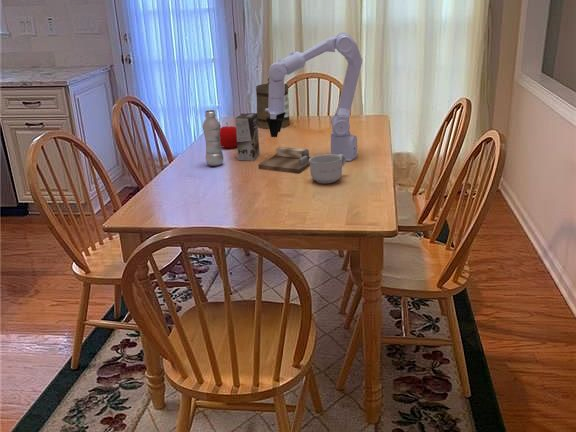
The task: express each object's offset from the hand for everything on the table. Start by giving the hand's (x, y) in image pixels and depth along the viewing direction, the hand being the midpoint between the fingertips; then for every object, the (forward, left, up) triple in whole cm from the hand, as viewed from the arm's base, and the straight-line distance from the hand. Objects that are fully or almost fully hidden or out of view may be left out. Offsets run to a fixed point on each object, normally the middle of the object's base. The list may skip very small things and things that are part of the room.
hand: (275, 134), depth 209 cm
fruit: (+26, -9, -10) cm, 30 cm away
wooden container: (+26, -48, -10) cm, 56 cm away
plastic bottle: (+18, +14, -10) cm, 25 cm away
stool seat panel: (-7, +5, -10) cm, 13 cm away
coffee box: (+11, +1, -10) cm, 15 cm away
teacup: (-28, +15, -10) cm, 33 cm away
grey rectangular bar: (-7, 0, -8) cm, 10 cm away
